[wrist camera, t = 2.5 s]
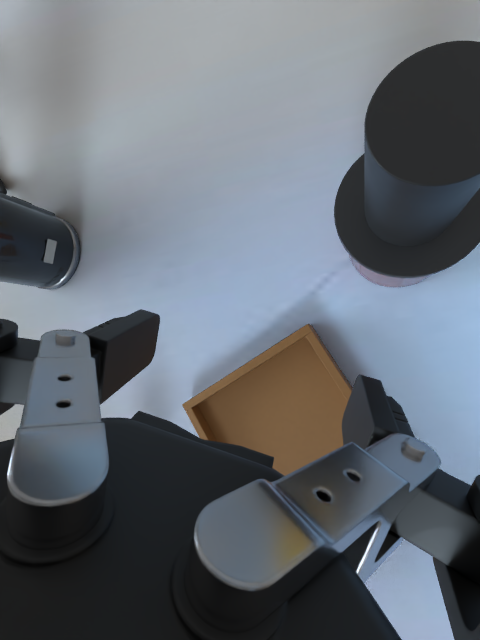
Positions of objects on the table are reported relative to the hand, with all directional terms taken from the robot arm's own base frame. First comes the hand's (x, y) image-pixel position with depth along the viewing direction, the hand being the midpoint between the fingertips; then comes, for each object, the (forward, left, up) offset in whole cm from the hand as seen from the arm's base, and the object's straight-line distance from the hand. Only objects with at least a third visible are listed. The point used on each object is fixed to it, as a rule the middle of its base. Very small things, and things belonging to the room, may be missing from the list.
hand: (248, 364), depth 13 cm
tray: (+7, -7, -22) cm, 24 cm away
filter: (-4, +11, -14) cm, 19 cm away
